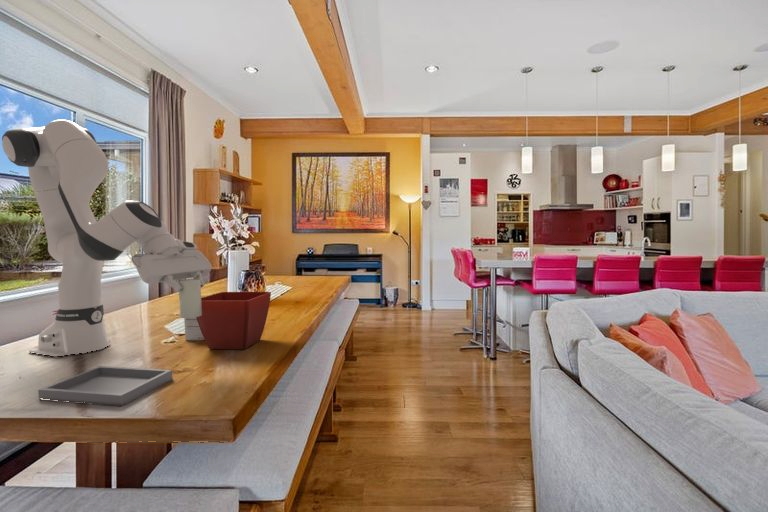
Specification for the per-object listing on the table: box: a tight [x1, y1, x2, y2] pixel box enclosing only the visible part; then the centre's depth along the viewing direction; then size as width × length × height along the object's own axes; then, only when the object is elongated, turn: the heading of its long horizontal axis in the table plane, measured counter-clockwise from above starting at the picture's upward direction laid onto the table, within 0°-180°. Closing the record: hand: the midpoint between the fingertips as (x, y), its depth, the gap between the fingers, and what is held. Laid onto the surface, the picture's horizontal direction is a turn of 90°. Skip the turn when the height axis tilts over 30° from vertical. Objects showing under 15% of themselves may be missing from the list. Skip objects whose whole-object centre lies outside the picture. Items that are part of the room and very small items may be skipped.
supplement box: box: [183, 317, 205, 341], centre depth 143 cm, size 7×7×13 cm
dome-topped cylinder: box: [177, 278, 202, 319], centre depth 109 cm, size 6×6×10 cm
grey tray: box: [37, 365, 173, 407], centre depth 96 cm, size 22×16×2 cm
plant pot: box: [196, 291, 272, 350], centre depth 133 cm, size 19×19×17 cm
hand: (191, 288), depth 108 cm, fingers closed on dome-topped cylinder, 5 cm apart
